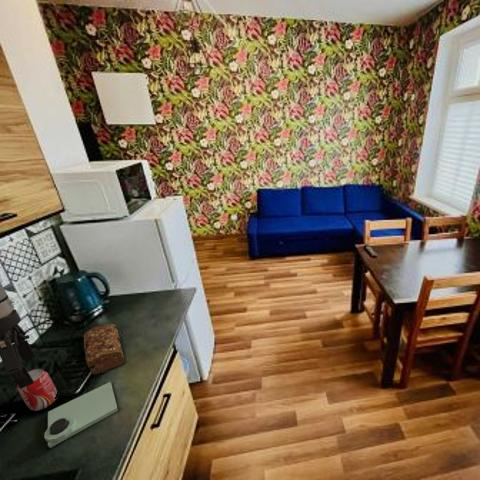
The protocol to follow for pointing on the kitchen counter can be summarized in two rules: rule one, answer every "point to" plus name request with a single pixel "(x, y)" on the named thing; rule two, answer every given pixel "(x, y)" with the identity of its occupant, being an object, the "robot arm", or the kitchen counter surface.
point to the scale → (82, 413)
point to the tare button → (59, 426)
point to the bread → (103, 348)
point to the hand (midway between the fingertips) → (28, 370)
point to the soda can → (38, 391)
